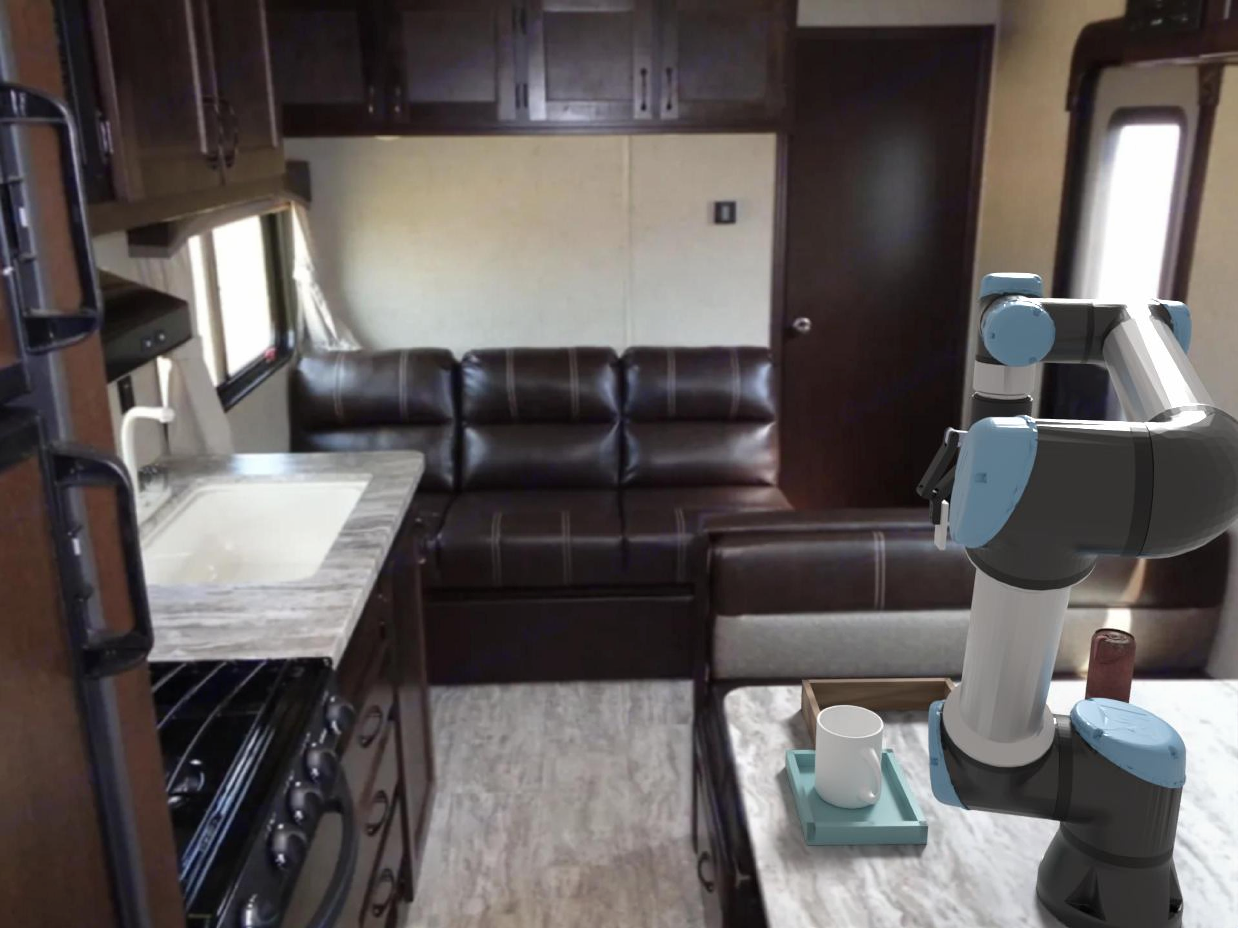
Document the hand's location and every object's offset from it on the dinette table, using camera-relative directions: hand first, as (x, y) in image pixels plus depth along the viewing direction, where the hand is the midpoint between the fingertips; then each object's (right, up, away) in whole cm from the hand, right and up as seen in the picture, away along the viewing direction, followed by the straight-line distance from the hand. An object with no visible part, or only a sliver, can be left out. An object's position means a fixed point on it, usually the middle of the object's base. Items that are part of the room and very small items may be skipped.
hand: (989, 546), depth 141 cm
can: (+24, -28, +17) cm, 40 cm away
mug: (-19, -34, -3) cm, 39 cm away
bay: (-10, -29, +14) cm, 34 cm away
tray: (-20, -34, -3) cm, 39 cm away
